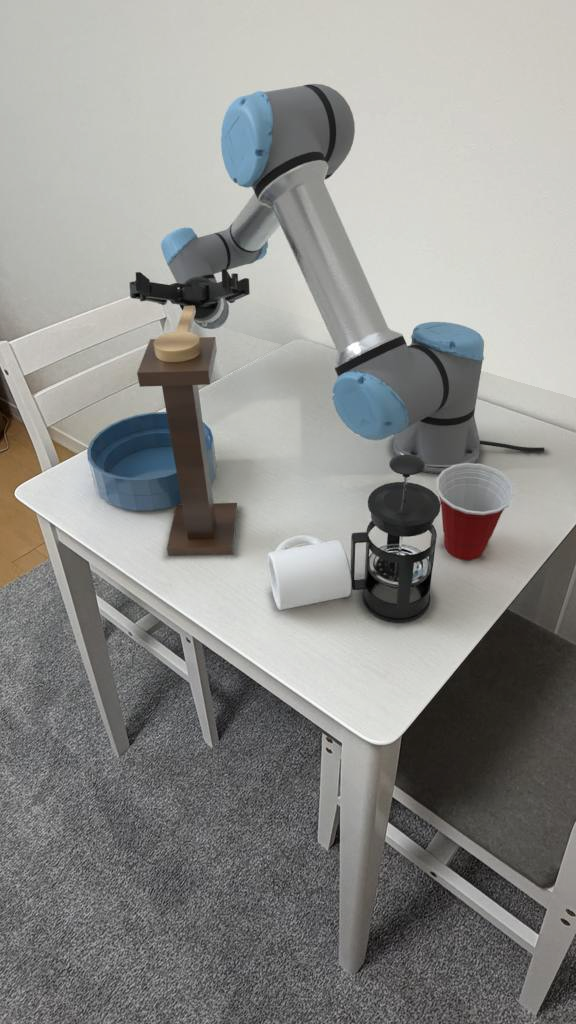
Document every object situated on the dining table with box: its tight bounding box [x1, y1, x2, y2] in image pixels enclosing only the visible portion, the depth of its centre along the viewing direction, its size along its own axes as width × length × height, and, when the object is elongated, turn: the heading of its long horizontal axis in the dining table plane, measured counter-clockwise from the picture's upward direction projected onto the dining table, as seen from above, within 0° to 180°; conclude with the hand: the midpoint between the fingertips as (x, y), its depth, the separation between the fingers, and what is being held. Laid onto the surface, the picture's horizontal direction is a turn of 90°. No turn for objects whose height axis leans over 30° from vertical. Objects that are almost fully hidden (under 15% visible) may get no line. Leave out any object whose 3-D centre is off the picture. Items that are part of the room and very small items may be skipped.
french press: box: [350, 455, 441, 624], centre depth 88 cm, size 12×9×23 cm
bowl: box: [86, 411, 218, 512], centre depth 119 cm, size 21×21×7 cm
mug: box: [267, 534, 352, 611], centre depth 96 cm, size 12×10×8 cm
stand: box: [136, 336, 239, 557], centre depth 99 cm, size 11×10×30 cm
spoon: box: [154, 306, 201, 362], centre depth 94 cm, size 16×6×2 cm, turn 179°
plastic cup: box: [435, 463, 516, 561], centre depth 99 cm, size 11×11×12 cm
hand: (181, 279), depth 108 cm, fingers open, 13 cm apart
